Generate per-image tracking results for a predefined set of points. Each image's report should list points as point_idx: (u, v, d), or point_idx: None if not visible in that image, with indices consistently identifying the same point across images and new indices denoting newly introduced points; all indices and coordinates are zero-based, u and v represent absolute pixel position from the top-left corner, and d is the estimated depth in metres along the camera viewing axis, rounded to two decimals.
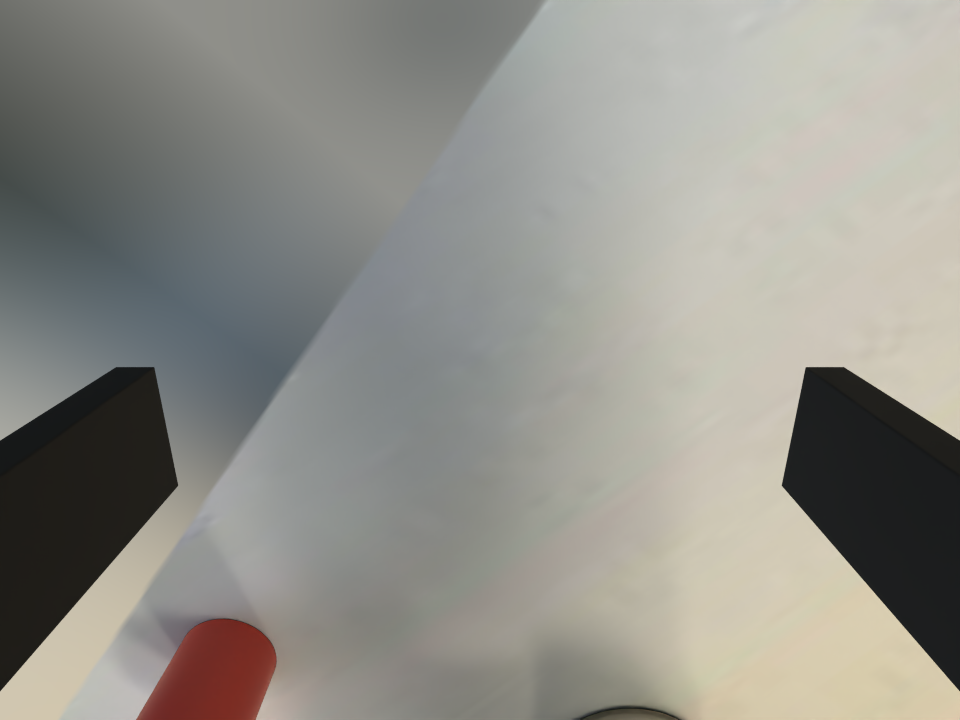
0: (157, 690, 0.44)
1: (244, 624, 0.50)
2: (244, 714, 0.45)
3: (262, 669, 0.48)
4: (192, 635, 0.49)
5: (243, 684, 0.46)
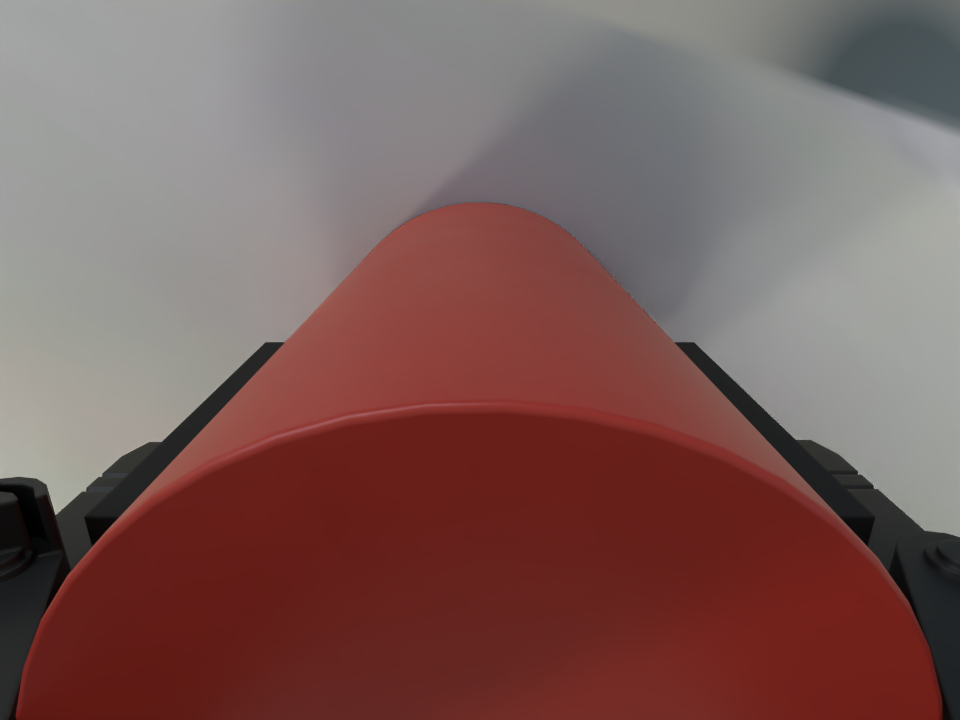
0: (599, 273, 0.10)
1: None
2: None
3: None
4: (578, 242, 0.15)
5: None
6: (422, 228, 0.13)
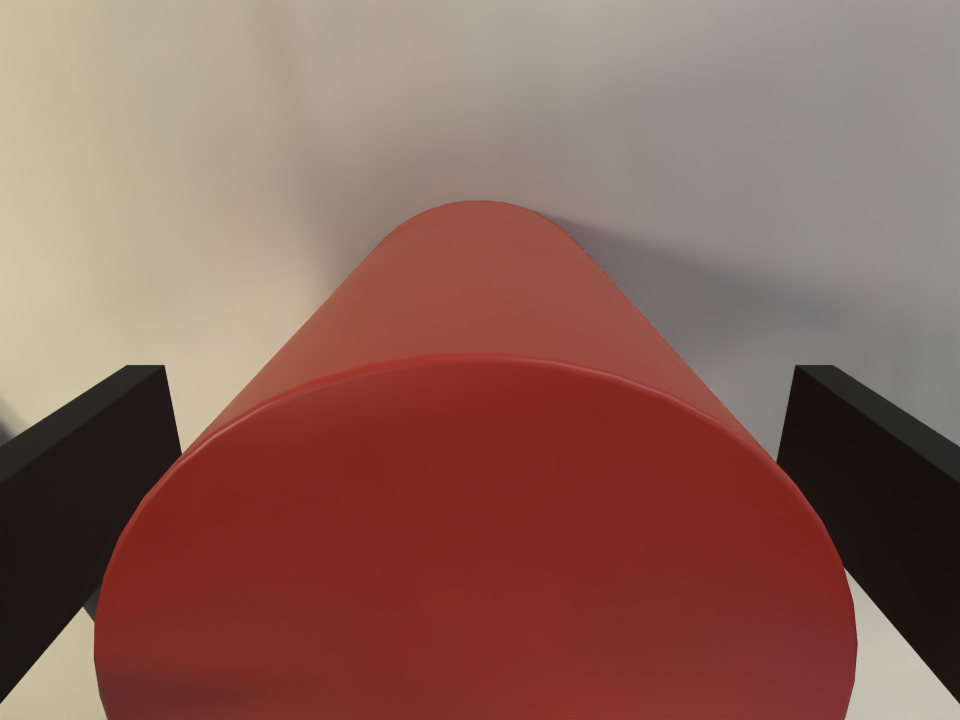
0: (586, 264, 0.11)
1: None
2: None
3: None
4: (570, 237, 0.16)
5: None
6: (425, 224, 0.14)
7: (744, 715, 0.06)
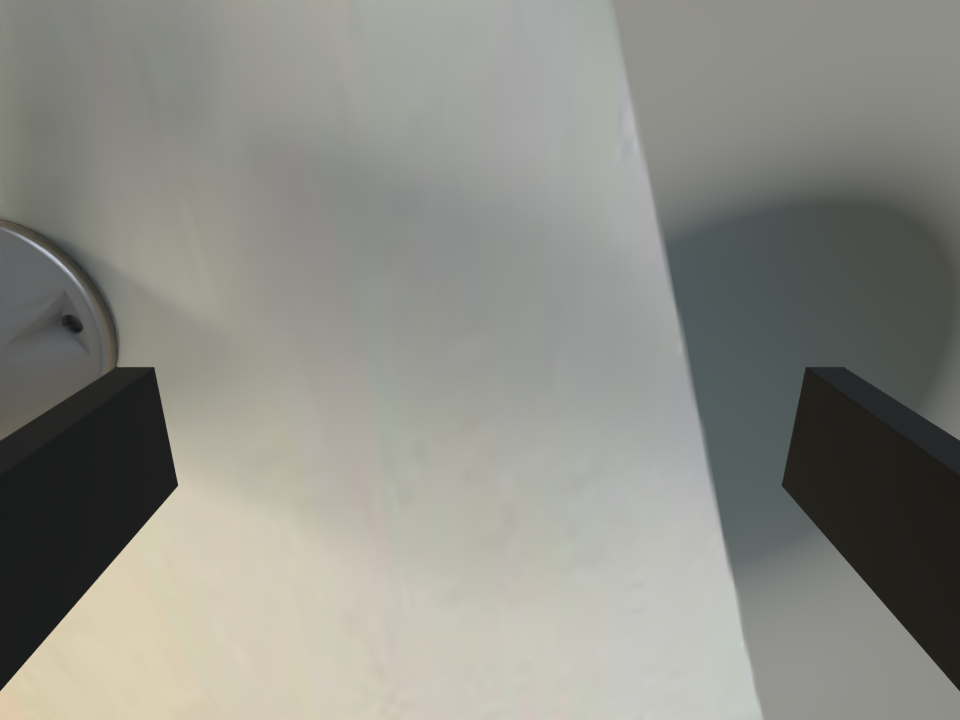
0: None
1: None
2: None
3: None
4: None
5: None
6: None
7: None
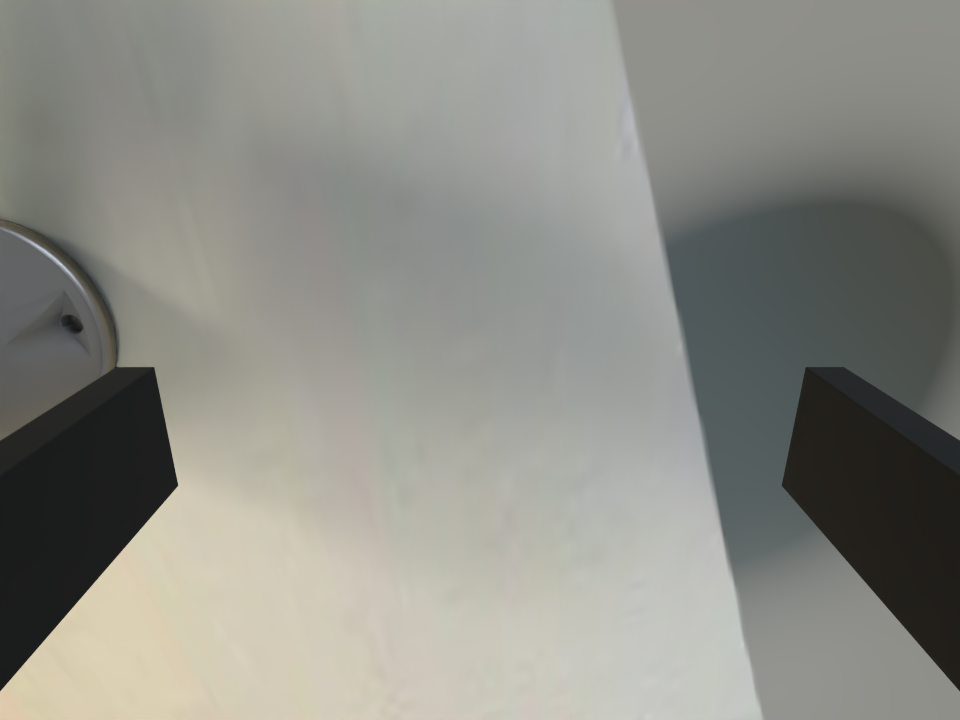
0: None
1: None
2: None
3: None
4: None
5: None
6: None
7: None
